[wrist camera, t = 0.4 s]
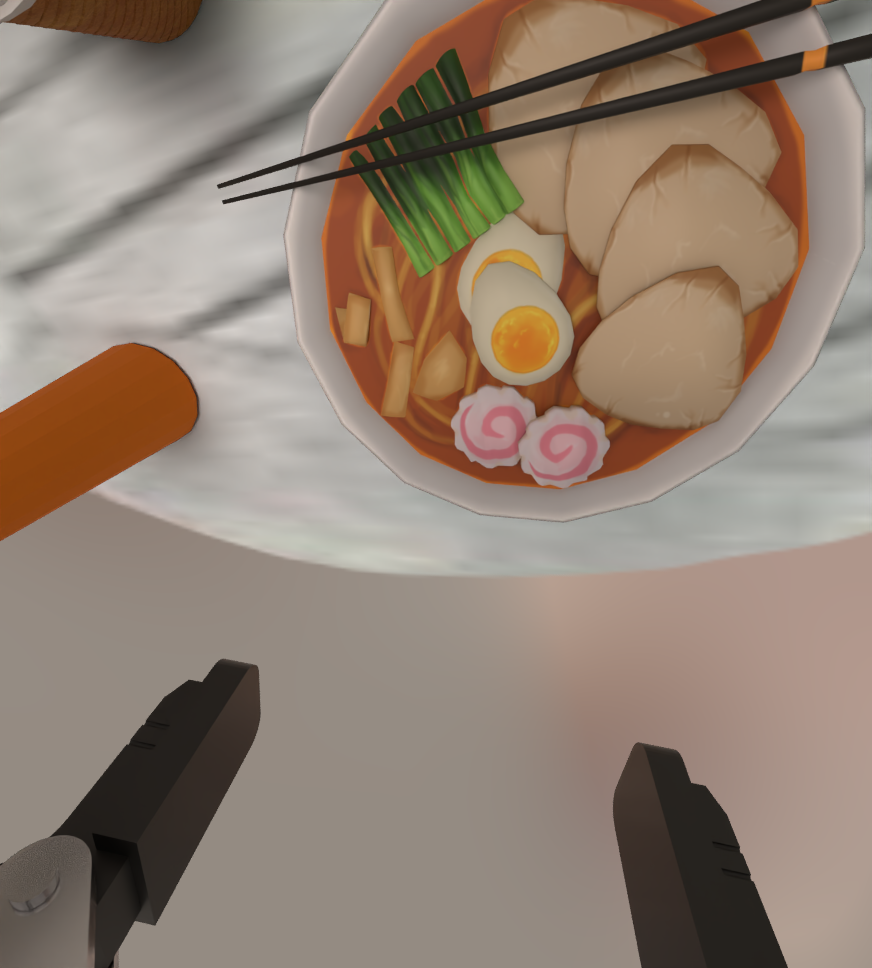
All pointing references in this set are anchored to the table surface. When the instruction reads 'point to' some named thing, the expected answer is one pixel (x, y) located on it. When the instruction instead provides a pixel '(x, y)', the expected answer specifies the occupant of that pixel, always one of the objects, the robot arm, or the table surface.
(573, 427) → the ramen bowl
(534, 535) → the table surface
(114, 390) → the spray bottle
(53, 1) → the disposable coffee cup
